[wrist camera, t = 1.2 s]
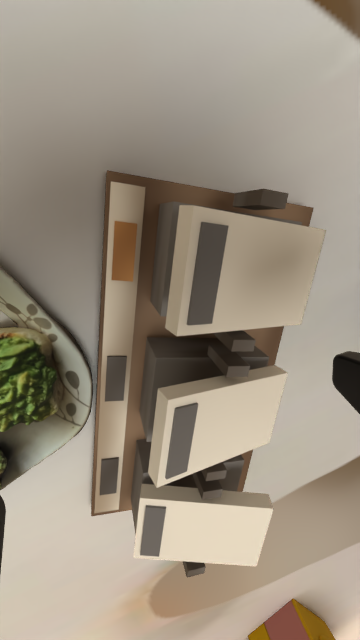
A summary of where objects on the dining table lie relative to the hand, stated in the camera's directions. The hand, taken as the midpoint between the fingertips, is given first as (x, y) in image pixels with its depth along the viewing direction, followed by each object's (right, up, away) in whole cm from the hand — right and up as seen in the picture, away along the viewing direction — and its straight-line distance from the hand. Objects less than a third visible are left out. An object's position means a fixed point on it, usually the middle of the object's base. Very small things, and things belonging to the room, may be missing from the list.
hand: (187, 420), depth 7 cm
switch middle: (+2, -3, +9) cm, 9 cm away
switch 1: (+3, +5, +6) cm, 8 cm away
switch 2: (+1, -11, +11) cm, 15 cm away
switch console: (+1, -1, +14) cm, 14 cm away
